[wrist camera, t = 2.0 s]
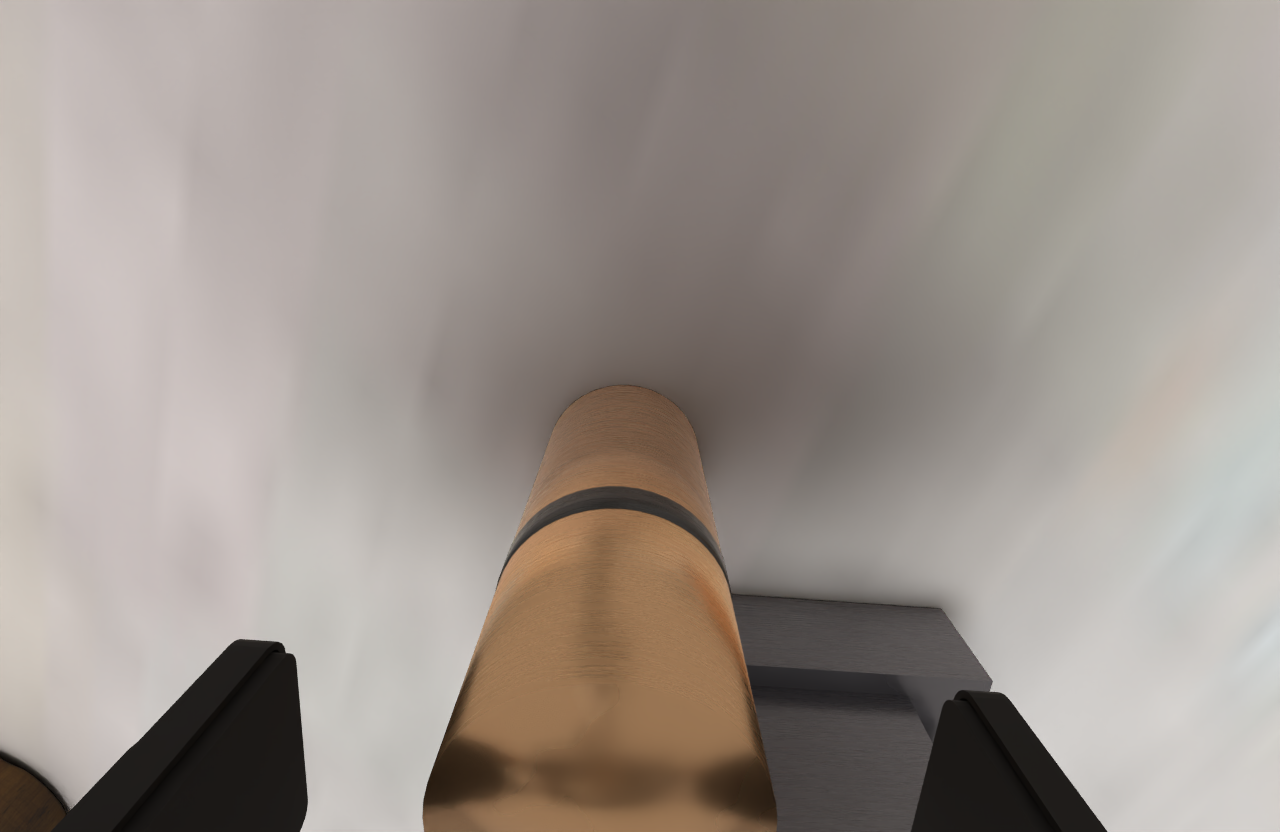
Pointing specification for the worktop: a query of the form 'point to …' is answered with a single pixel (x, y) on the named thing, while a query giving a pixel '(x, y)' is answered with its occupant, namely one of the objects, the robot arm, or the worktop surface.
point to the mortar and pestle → (26, 802)
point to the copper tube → (608, 650)
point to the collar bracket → (850, 705)
